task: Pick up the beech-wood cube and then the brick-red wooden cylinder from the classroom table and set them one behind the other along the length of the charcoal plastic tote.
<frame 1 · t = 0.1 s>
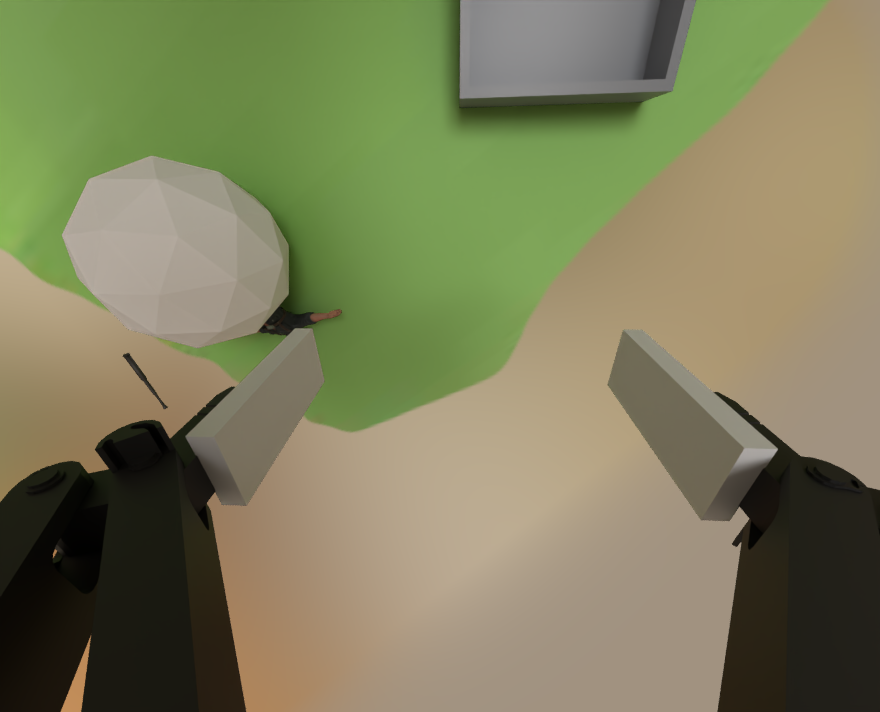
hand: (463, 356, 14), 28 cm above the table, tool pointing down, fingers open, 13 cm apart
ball: (258, 264, 42), on the table
tote: (561, 7, 29), on the table
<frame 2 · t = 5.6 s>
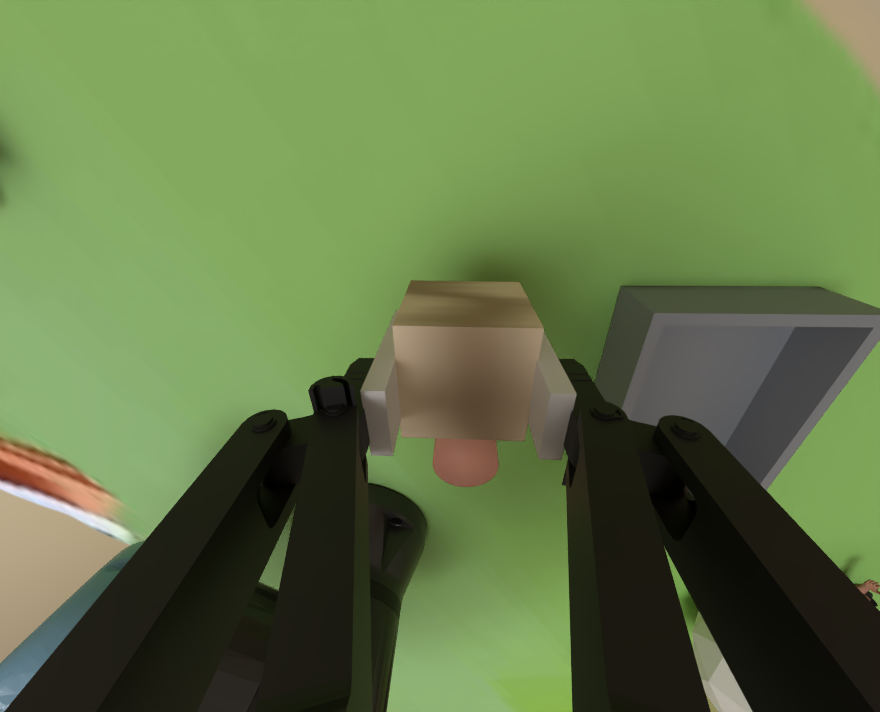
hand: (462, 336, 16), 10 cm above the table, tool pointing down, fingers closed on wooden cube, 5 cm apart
wooden cube: (462, 330, 16), point 9 cm above the table, touching gripper
red cylinder: (465, 406, 31), on the table
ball: (756, 592, 45), on the table
tote: (675, 385, 28), on the table
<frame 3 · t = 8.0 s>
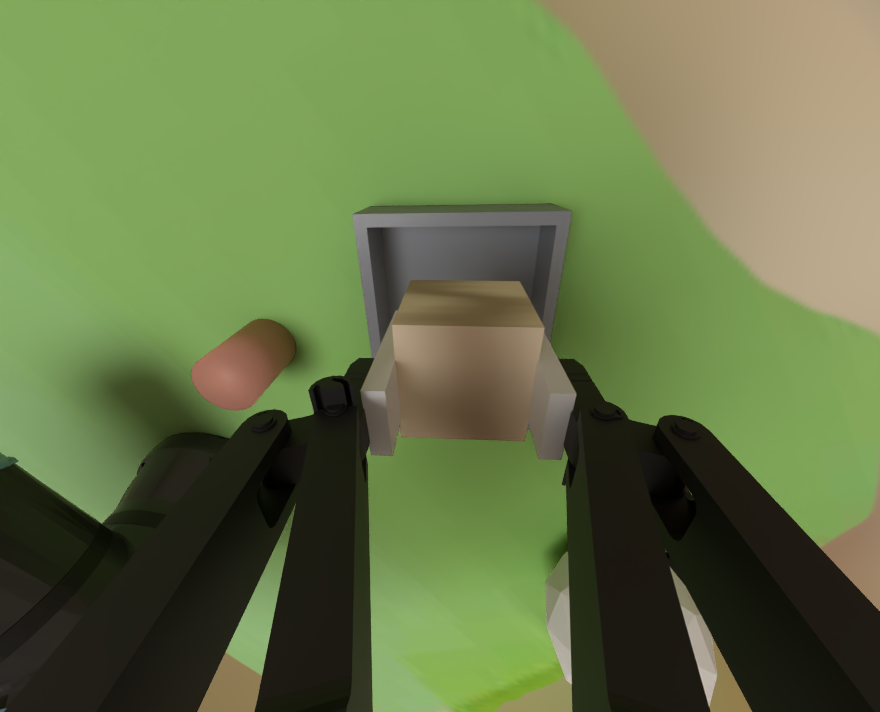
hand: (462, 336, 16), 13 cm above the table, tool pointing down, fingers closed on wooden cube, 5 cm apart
wooden cube: (462, 329, 16), point 12 cm above the table, touching gripper
red cylinder: (269, 343, 31), on the table
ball: (616, 544, 45), on the table
tote: (458, 314, 29), on the table
when the fingers open (4 cm above the table, at t = 10.4 s): wooden cube drops 2 cm, resting on tote.
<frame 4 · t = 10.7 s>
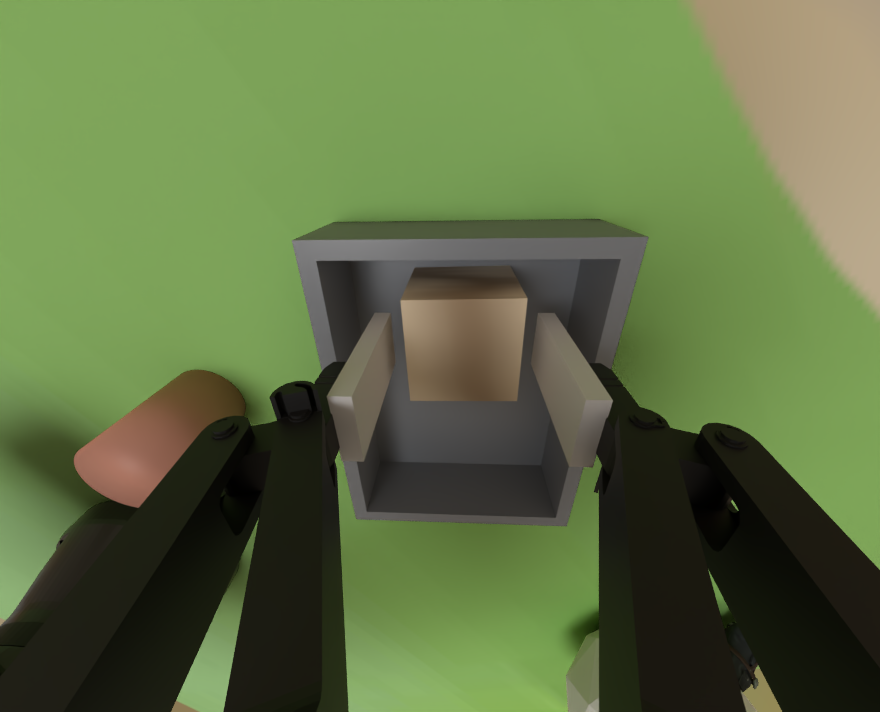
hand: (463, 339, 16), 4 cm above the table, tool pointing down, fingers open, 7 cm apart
wooden cube: (461, 310, 19), point 1 cm above the table, touching tote
red cylinder: (210, 399, 24), on the table
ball: (650, 623, 37), on the table
tote: (461, 366, 21), on the table
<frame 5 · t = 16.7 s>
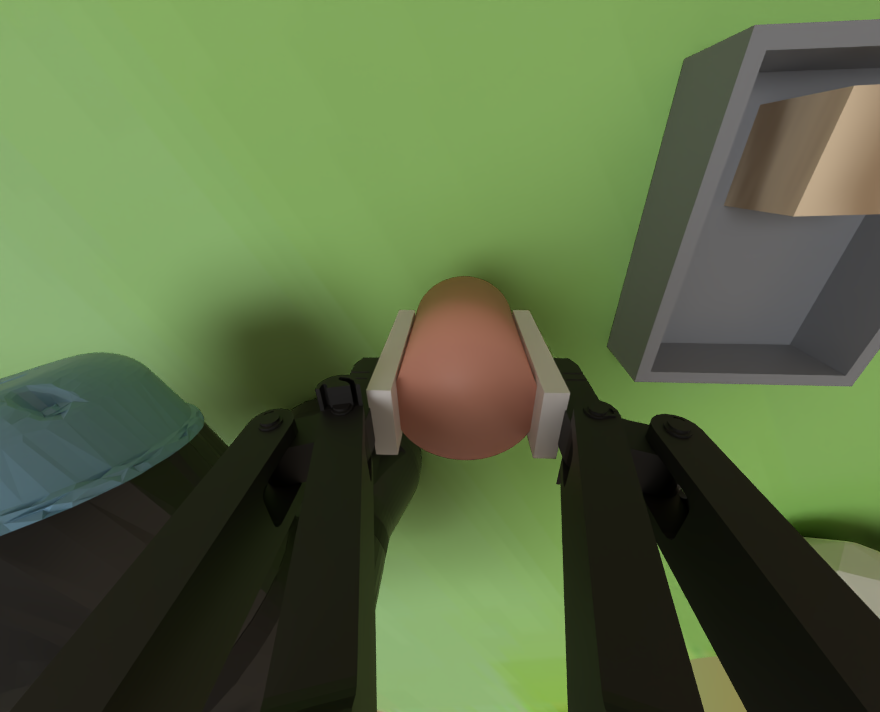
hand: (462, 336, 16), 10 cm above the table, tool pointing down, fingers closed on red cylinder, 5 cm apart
wooden cube: (786, 156, 19), point 1 cm above the table, touching tote
red cylinder: (463, 323, 17), point 8 cm above the table, touching gripper
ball: (812, 544, 38), on the table
tote: (744, 230, 22), on the table
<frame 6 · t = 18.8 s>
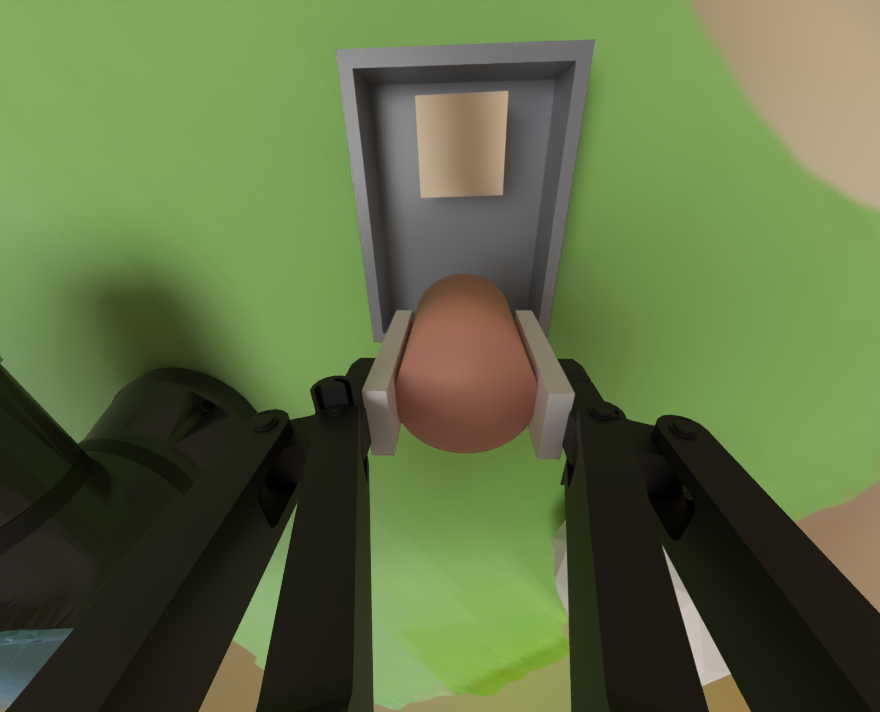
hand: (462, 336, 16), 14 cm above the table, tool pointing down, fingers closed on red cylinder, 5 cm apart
wooden cube: (460, 152, 23), point 1 cm above the table, touching tote
red cylinder: (462, 320, 18), point 12 cm above the table, touching gripper
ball: (628, 500, 42), on the table
tote: (459, 214, 26), on the table
when the fingers open (5 cm above the table, at t = 21.2 s): red cylinder drops 2 cm, resting on tote.
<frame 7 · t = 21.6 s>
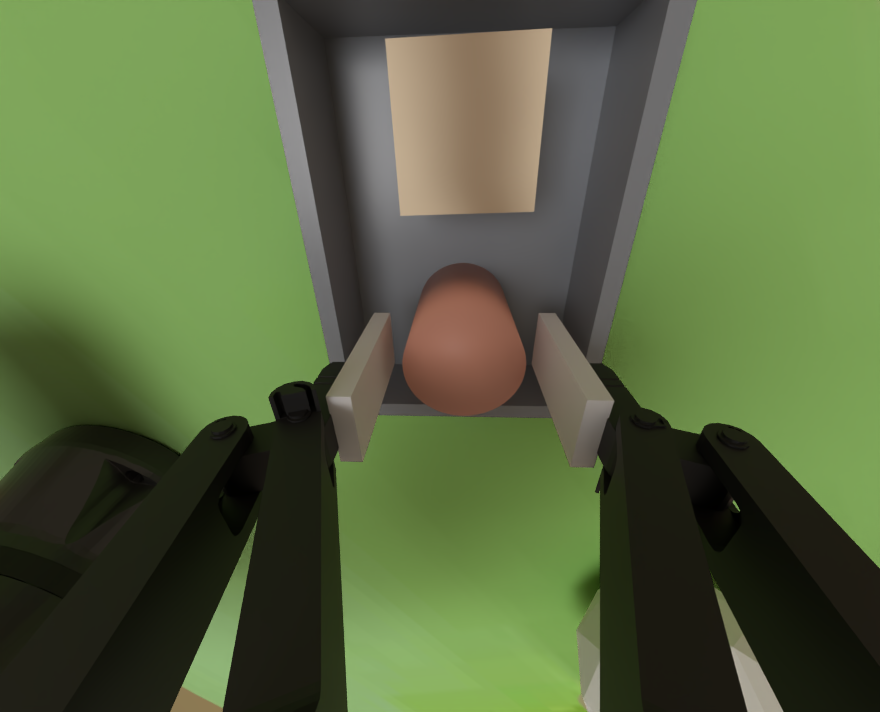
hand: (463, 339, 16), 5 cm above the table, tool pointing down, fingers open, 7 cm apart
wooden cube: (464, 143, 15), point 1 cm above the table, touching tote
red cylinder: (461, 305, 19), point 1 cm above the table, touching tote
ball: (667, 576, 34), on the table
tote: (463, 233, 18), on the table
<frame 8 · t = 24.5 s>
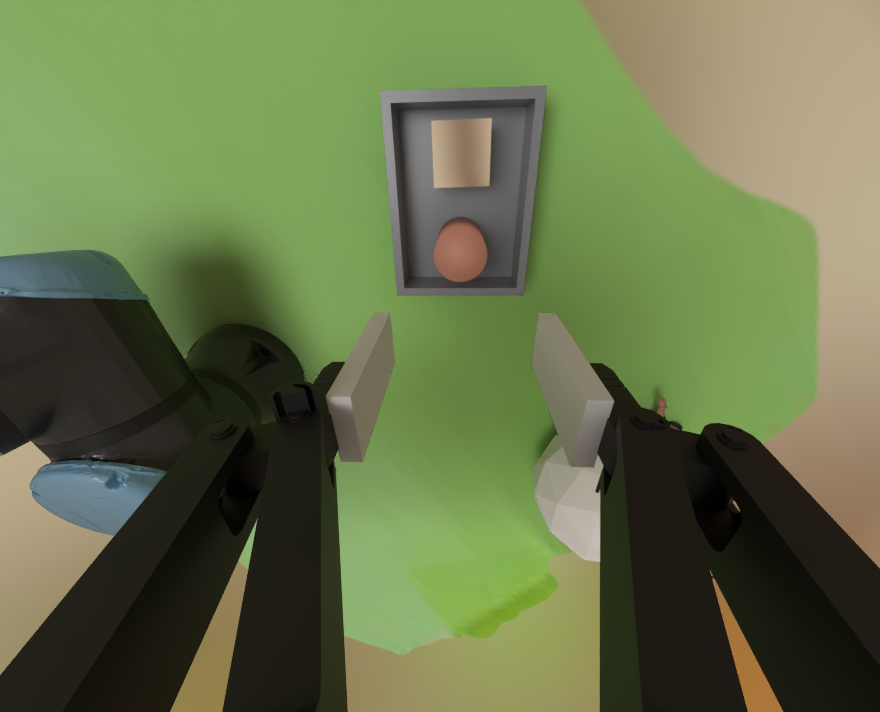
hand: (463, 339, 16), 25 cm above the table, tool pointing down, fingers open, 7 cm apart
wooden cube: (460, 156, 33), point 1 cm above the table, touching tote
red cylinder: (460, 240, 37), point 1 cm above the table, touching tote
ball: (597, 439, 52), on the table
tote: (460, 201, 36), on the table
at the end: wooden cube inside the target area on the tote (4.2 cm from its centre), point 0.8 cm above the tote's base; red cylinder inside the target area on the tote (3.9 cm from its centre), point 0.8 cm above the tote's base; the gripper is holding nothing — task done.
